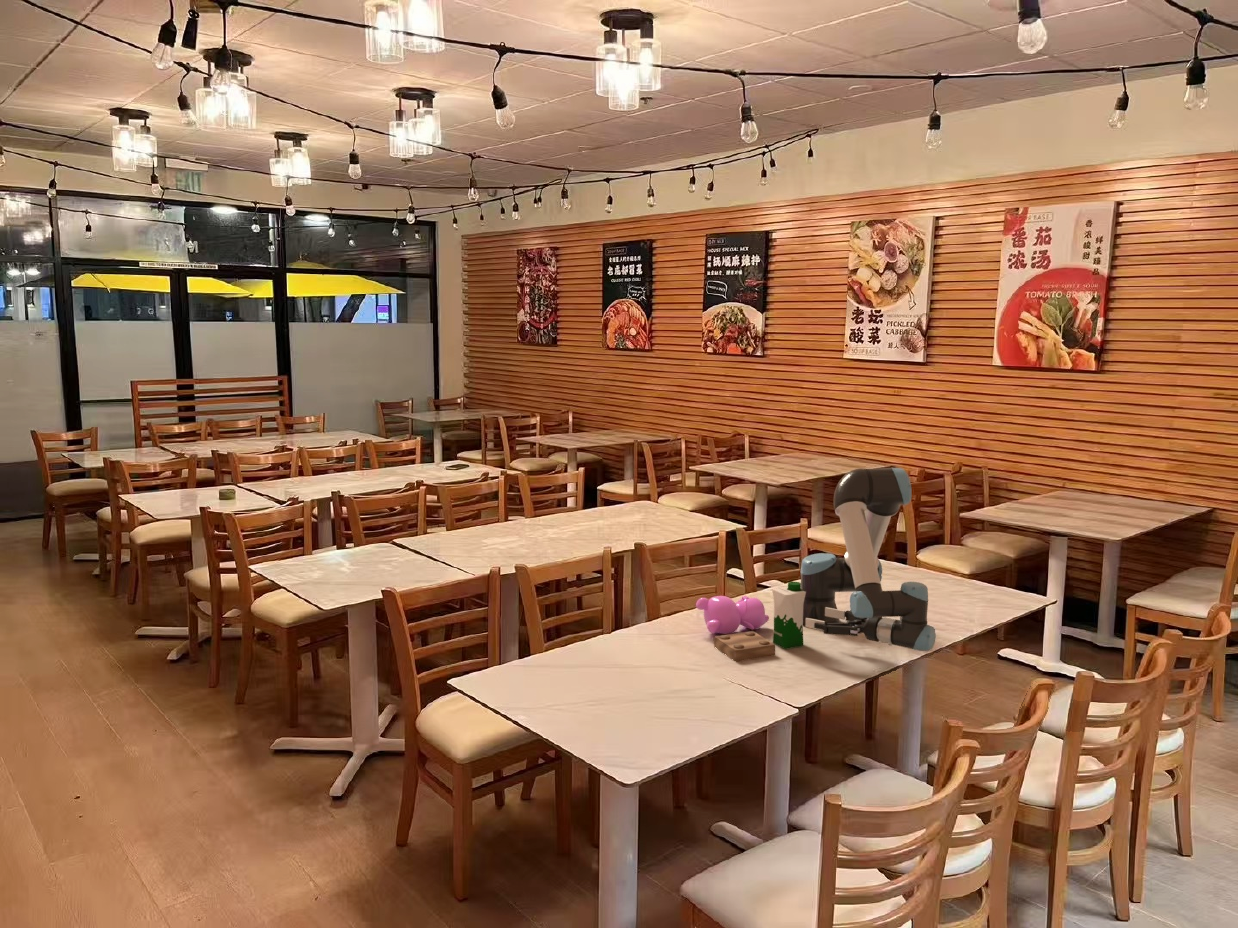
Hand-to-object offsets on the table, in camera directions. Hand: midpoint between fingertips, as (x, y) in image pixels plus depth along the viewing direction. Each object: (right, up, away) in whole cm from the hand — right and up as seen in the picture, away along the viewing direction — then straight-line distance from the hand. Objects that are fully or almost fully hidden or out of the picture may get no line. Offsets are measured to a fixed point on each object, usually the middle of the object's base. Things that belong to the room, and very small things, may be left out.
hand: (815, 616), depth 283 cm
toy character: (-24, -9, +21) cm, 33 cm away
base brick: (-22, -12, +2) cm, 25 cm away
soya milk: (-7, -10, +7) cm, 15 cm away
